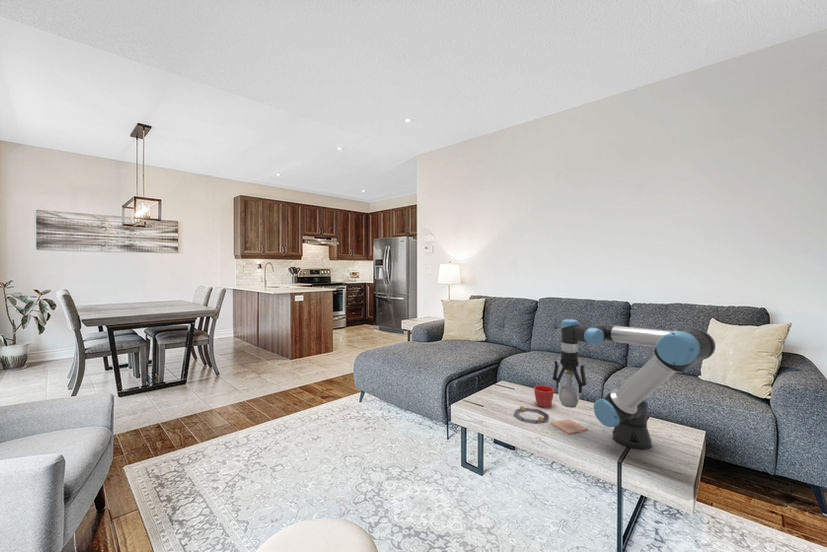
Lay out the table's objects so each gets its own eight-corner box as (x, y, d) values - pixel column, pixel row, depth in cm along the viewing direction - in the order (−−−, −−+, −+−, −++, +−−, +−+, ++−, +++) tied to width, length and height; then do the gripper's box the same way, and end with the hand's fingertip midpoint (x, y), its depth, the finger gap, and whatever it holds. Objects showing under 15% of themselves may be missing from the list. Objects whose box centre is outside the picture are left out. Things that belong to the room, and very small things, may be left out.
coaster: (587, 430, 171) (587, 428, 171) (568, 434, 167) (568, 432, 167) (569, 420, 182) (569, 418, 182) (550, 424, 178) (550, 422, 178)
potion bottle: (556, 401, 179) (556, 366, 178) (573, 401, 179) (573, 366, 179) (564, 408, 170) (565, 371, 169) (582, 408, 170) (582, 371, 170)
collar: (555, 420, 182) (555, 416, 182) (528, 425, 176) (528, 421, 176) (533, 408, 198) (533, 404, 198) (508, 412, 192) (508, 408, 192)
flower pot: (557, 408, 197) (557, 391, 197) (537, 408, 198) (537, 391, 197) (550, 401, 208) (550, 385, 208) (531, 401, 208) (531, 385, 208)
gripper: (594, 352, 170) (593, 399, 171) (550, 346, 183) (550, 390, 184) (590, 355, 164) (589, 404, 165) (545, 349, 177) (545, 394, 178)
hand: (569, 396), depth 174 cm, fingers closed on potion bottle, 8 cm apart
